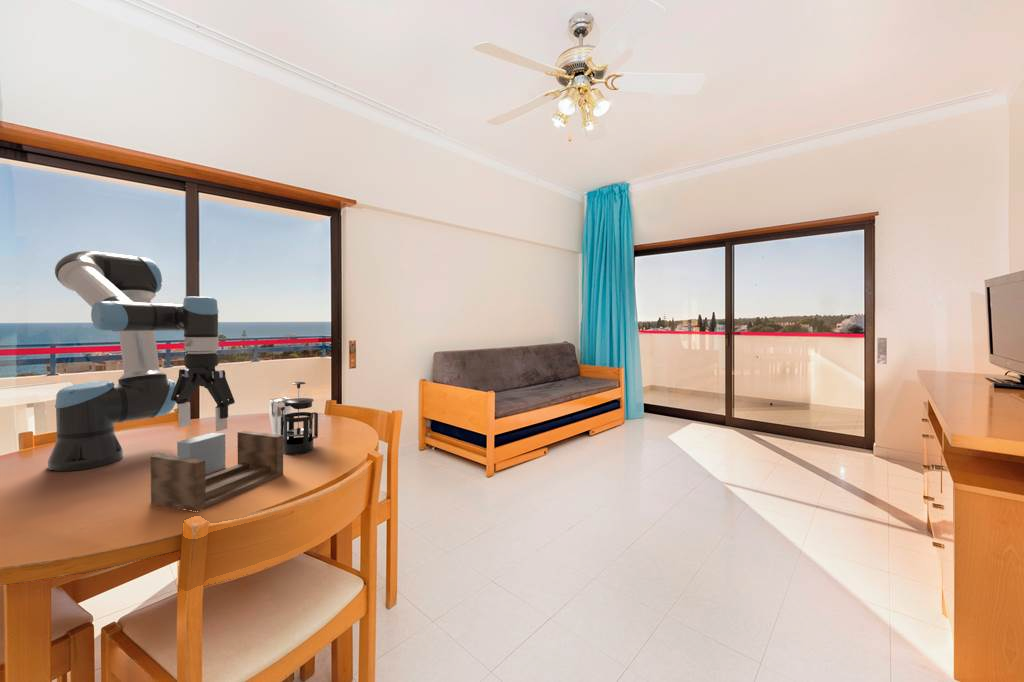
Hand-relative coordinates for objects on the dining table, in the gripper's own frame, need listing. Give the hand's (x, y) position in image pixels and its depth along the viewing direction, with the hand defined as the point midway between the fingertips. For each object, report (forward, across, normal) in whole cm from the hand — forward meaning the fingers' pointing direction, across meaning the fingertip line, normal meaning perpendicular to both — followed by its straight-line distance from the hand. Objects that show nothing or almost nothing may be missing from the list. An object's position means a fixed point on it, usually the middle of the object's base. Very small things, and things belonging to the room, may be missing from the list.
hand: (202, 428), depth 113 cm
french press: (+13, +9, +25) cm, 30 cm away
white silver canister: (+13, -5, +31) cm, 34 cm away
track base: (+13, +14, -6) cm, 20 cm away
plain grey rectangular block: (+13, -1, 0) cm, 13 cm away
